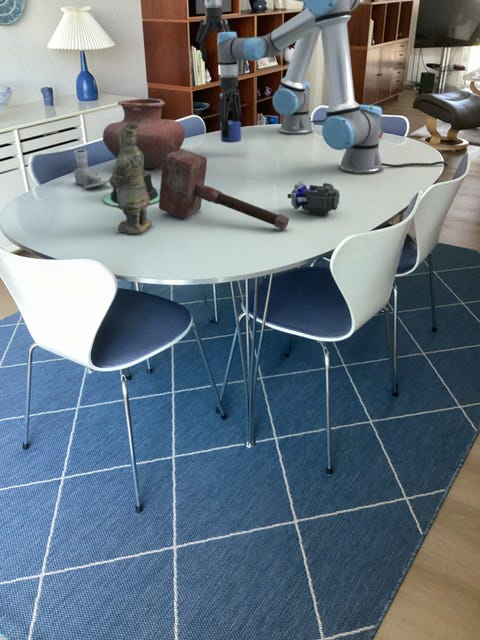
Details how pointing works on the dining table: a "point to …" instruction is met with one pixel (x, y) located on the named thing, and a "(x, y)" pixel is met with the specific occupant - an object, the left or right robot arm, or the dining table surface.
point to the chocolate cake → (152, 192)
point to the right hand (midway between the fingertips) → (230, 135)
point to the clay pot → (146, 131)
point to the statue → (131, 182)
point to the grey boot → (86, 171)
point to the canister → (232, 132)
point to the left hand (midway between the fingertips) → (215, 59)
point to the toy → (315, 198)
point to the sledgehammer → (200, 190)
